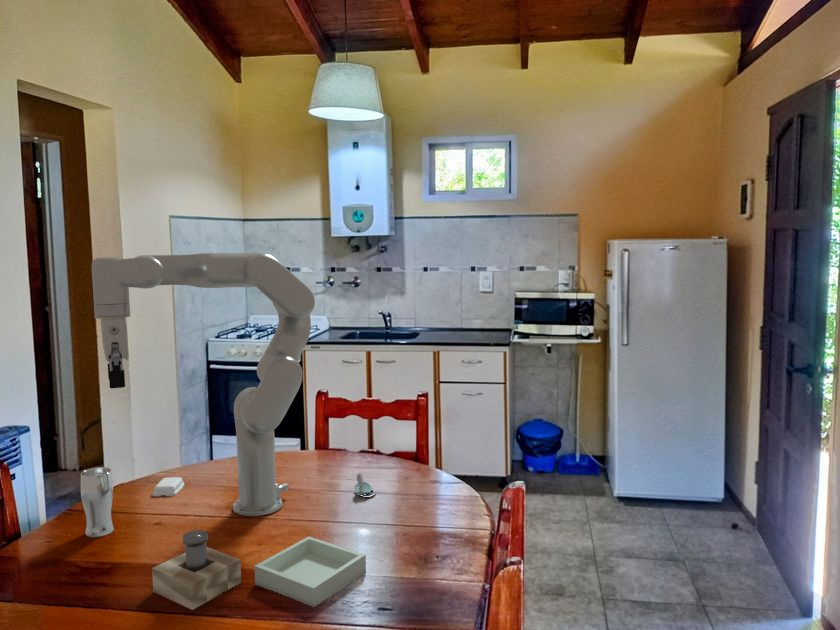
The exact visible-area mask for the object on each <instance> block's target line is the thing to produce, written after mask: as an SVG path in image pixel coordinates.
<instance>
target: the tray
mask: <svg viewBox="0 0 840 630" xmlns="http://www.w3.org/2000/svg"><path fill="white" fill-rule="evenodd" d="M366 560H367V555H366V554H365V553H362V552H358V551H355V550H352V549H349V548H347V547H346V548H345V547H344V546H340V545H336V544H334V543H331V542H327V541H326V540H325V541H324V540H321V539H318V538H315V537H312V536H307V537H305V538H303V539H301V540H300V541H298V542H296V543H294V544H292V545H290V546H288V547H287V548H285V549H283V550H281V551H279V552H277V553H276V554H274V555H271V556H270V557H268V558H266V559H264V560H263V561H260V562H258V563H257V564H255V565H254V584H255V586H258V587H261V588H262V587H263V588H262V589H265V590H267V589H268V591H270V590H272V591H274V592H273V593H275V592H277V593H279V594H278V595H280V594H282V595H285V596H287V597H290V598H292V599H295V600H297V601H300V602H302V603H305V604H308V605H310V606H312V607H311V608H313V607H315V606H316V605H318V604H320V603H321V602H322V601H324V600H325V601H327V600H328V599H330V598H331V597H332V596H331V595H333V594H334V593H336V592H337V591H339V590H340V589H342V588H343V589H345V588H346V587H348V586H349V585H350V584H352V583H353V582H355V581H356V580H358V579H359V578H361V577H362V576H363V574H364V573H365V574H366V573H367V561H366ZM365 574H364V575H365ZM360 576H361V577H360ZM358 577H359V578H358ZM357 578H358V579H357ZM355 579H356V580H355ZM354 580H355V581H354ZM352 581H353V582H352ZM351 582H352V583H351ZM348 584H349V585H348ZM345 586H346V587H345ZM344 587H345V588H344ZM343 589H342V590H343ZM272 591H271V592H272ZM340 591H341V590H340ZM340 591H339V592H340ZM277 593H276V594H277ZM337 593H338V592H337ZM337 593H336V594H337ZM282 595H281V596H282ZM334 595H335V594H334ZM334 595H333V596H334ZM285 596H284V597H285ZM330 596H331V597H330ZM287 597H286V598H287ZM329 597H330V598H329ZM290 598H289V599H290ZM327 598H328V599H327ZM292 599H291V600H292ZM326 599H327V600H326ZM295 600H294V601H295ZM297 601H296V602H297ZM325 601H324V602H325ZM300 602H299V603H300ZM302 603H301V604H302ZM322 603H323V602H322ZM322 603H321V604H322ZM305 604H304V605H305ZM321 604H320V605H321ZM308 605H307V606H308ZM310 606H309V607H310ZM318 606H319V605H318ZM315 608H316V607H315Z"/></svg>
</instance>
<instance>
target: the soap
mask: <svg viewBox="0 0 840 630" xmlns="http://www.w3.org/2000/svg"><path fill="white" fill-rule="evenodd" d="M183 480H184V479H183V478H182V477H178V476H177V477H176V476H175V477H173V476H172V477H171V476H170V477H163V478H162V479H161V480H160V481H159V482H158V483H157V484H156V485H155V486H154V489H153V492H152V497H162V496H165V497H174V496H173V495H175V496H177V495H178V494H179V493H180V492H181V491H182V490H181V489H183V488H184V487H185V482H184V481H183ZM183 486H184V487H183ZM180 490H181V491H180ZM179 491H180V492H179ZM178 492H179V493H178ZM177 493H178V494H177ZM176 494H177V495H176Z"/></svg>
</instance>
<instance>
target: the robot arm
mask: <svg viewBox="0 0 840 630" xmlns="http://www.w3.org/2000/svg"><path fill="white" fill-rule="evenodd" d="M91 278H92V293H93V295H92V297H93V310H94V319H97V320H98V319H99V320H100V326H101V327H100V329H101V339H102V341H101V342H102V348H103V353H104V357H105V361H106V362H108V363H107V375H108V376H107V378H108V381H109V388H110V389H111V390H112V389H121V388H123V389H124V388H125V387H126V378H125V375H126V374H125V369H124V363H123V359H125V361H128V360H129V359H130V355H129V354H130V353H129V343H128V342H129V340H128V337H129V336H128V328H127V327H128V326H127V320H126V318H129V317H131V306H130V305H131V304H130V290H129V289H130V288H134V289H135V288H137V289H152V288H155V287H156V286H188V287H189V286H190V287H195V288H202V289H219V288H224V289H225V288H257V289H258V290H259V291H260V292H261V293H262V294H263V295H264V296H266V297H267V298H268V299H269V300H270V301H271V303H272V305H273V307H274V309H275V310H276V313H277V317H278V323H277V327H276V330H275V332H274V334H273V337H272V339H271V340H270V342H269V344H268V345H267V347H266V349H265V350H264V351H265V352H264V353H263V354H262V356H261V358H260V360H259V361H258V363H257V367H256V375H257V377H258V379H259V384H258V386H257V387H256V386H254V387H253V386H251V387H246V388H245V389H243V390H242V391H240V392H239V393H238V394H237V396H236V397H235V400H234V403H233V416H234V417H233V418H234V423H235V424H234V426H235V436H236V452H237V453H236V456H237V458H236V460H237V461H236V462H237V483H238V484H237V486H238V487H237V488H238V499H236V500H235V501H234V502H233V504H232V510H233V512H234V513H236V514H238V515H239V516H242V517H243V516H244V517H259V516H264V515H265V516H266V515H269V514H273V513H275V512H277V511H278V510H280V509H281V508H282V507H283V499H282V498H281V497H280V495H281V494H282V493H283V492H285V491H287V490H289V489H290V485H289V484H288V482H285V483H282V484H280V485H279V484H278V483H277V481H276V473H277V472H276V449H275V448H276V444H275V443H276V441H275V440H276V439H275V429H277V427H278V426H279V425H280V424H281V422H283V421H282V420H283V419H284V417H286V415H287V412H288V411H289V408H290V406H291V405H292V402H293V401H294V399H295V398H296V396H297V393H298V392H299V390H300V387H301V384H302V381H303V368H302V366H301V363H299V360H300V358H301V355H302V353H303V351H304V349H305V347H306V346H307V343H308V340H309V338H310V334H311V329H312V328H311V327H312V322H311V314H312V312H313V310H314V308H315V304H316V301H315V300H316V299H315V296H314V293H313V292H312V290H311V289H310V288H309V287H308V285H306V284H305V283H304V282H303V281H301V280H300V279H299V278H298V277H297V276H296V274H294V273H292V272H291V270H289V269H288V268H287V267H286V266H285V265H283V263H281V262H280V261H279V260H278V259H277V258H276V257H274V256H273V255H271V254H269V253H262V252H261V253H259V252H231V253H230V252H224V253H223V252H222V253H221V252H219V253H217V252H215V253H214V252H211V253H210V252H208V253H207V252H203V253H194V254H170V255H169V254H164V255H163V254H161V255H160V254H157V255H155V254H148V255H147V254H143V255H142V254H141V255H138V256H137V255H136V257H130V258H124V257H119V256H118V257H115V256H113V257H112V256H109V257H107V256H105V257H97V258H94V259H93V260H92V262H91Z"/></svg>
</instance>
